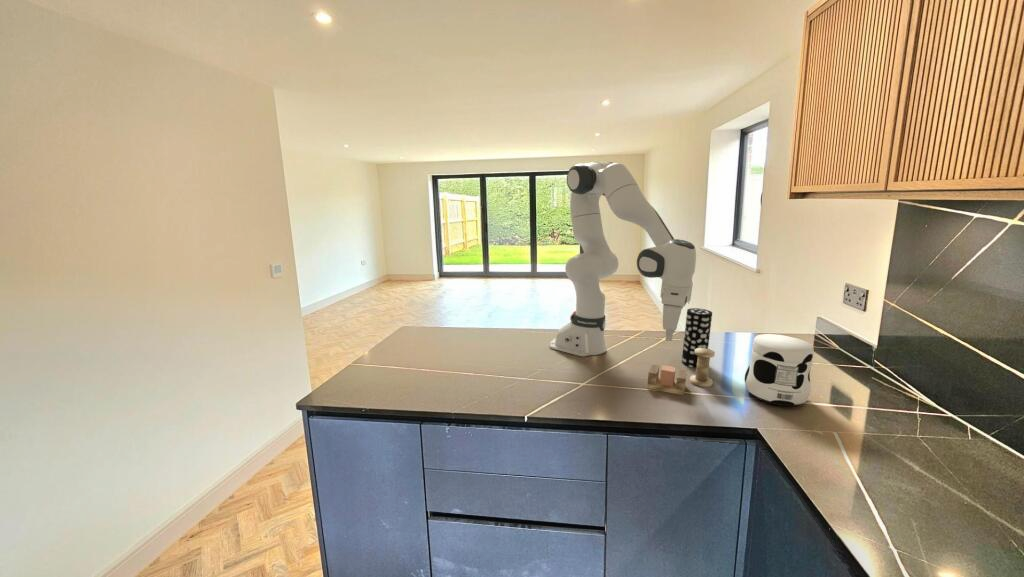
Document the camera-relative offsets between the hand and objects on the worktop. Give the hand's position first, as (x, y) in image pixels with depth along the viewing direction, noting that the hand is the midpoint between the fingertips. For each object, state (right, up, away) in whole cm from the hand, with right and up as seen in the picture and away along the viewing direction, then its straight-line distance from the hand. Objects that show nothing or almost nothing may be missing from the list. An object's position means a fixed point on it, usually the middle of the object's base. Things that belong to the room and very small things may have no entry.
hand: (670, 335), depth 135 cm
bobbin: (+13, -16, +7) cm, 22 cm away
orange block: (0, -16, +3) cm, 16 cm away
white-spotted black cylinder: (+17, -13, +23) cm, 31 cm away
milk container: (+32, -19, -2) cm, 37 cm away
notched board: (0, -17, +4) cm, 18 cm away
